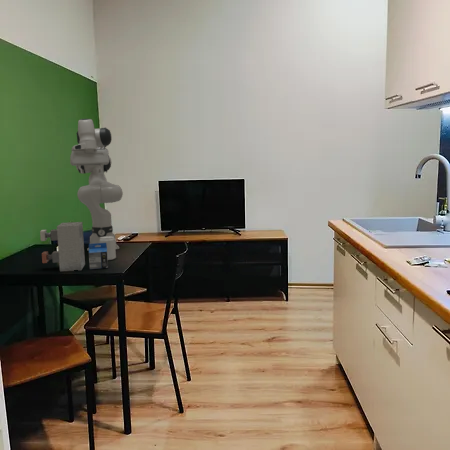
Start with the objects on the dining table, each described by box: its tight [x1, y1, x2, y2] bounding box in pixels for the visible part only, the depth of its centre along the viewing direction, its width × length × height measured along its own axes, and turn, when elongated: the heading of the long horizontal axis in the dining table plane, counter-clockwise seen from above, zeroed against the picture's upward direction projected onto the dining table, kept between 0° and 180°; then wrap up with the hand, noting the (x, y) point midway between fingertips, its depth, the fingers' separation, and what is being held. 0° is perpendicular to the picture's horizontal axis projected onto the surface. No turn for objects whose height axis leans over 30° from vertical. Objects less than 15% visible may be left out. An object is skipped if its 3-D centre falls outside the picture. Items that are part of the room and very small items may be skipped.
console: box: [49, 221, 86, 272], centre depth 231 cm, size 14×14×22 cm
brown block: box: [41, 251, 52, 264], centre depth 230 cm, size 5×6×5 cm
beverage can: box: [100, 236, 117, 261], centre depth 251 cm, size 8×8×12 cm
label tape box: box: [88, 243, 109, 270], centre depth 230 cm, size 9×4×12 cm, turn 103°
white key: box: [39, 229, 51, 242], centre depth 229 cm, size 5×6×5 cm
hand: (91, 172), depth 250 cm, fingers open, 8 cm apart
